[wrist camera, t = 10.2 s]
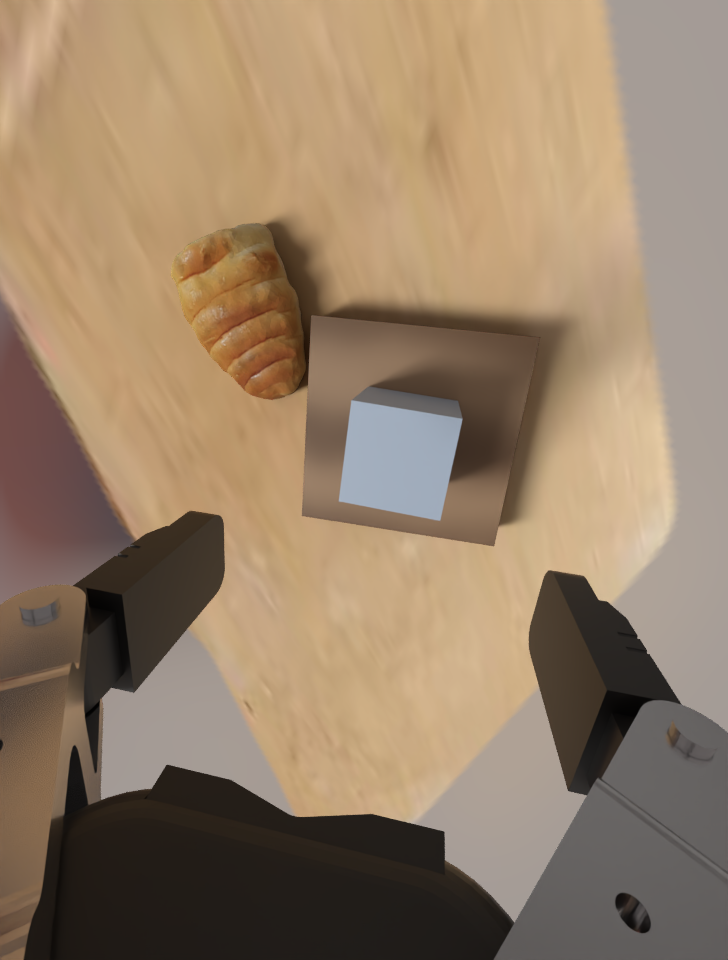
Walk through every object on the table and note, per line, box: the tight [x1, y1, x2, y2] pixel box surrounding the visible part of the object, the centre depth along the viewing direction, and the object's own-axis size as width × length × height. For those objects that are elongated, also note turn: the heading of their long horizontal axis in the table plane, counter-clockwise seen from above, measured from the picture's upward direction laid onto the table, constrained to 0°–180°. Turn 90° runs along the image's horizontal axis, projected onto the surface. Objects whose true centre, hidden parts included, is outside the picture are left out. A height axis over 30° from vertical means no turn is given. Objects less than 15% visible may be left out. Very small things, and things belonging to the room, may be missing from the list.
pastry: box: [171, 223, 306, 400], centre depth 25 cm, size 9×7×4 cm
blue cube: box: [339, 386, 463, 521], centre depth 22 cm, size 5×5×5 cm
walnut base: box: [302, 315, 540, 546], centre depth 26 cm, size 12×12×3 cm
